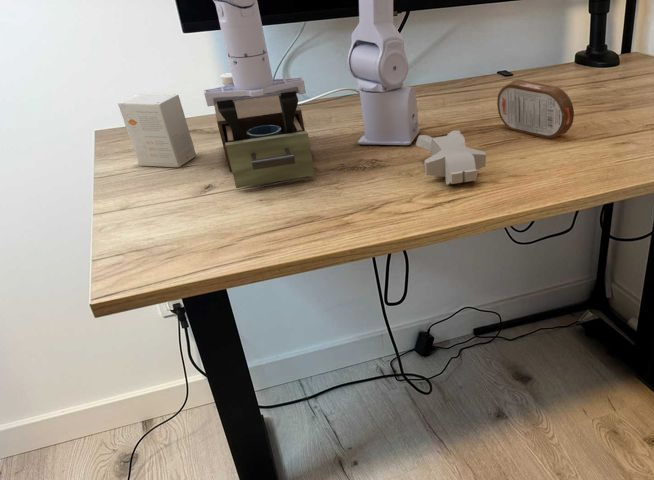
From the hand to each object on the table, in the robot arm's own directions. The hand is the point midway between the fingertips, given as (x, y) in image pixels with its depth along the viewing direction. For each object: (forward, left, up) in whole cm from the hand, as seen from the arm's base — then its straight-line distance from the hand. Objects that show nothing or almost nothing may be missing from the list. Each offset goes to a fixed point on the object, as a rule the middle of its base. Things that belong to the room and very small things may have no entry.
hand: (267, 146), depth 102 cm
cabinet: (+5, -9, -4) cm, 12 cm away
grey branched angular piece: (-29, -3, -5) cm, 29 cm away
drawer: (-1, +2, -4) cm, 4 cm away
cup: (0, 0, -3) cm, 3 cm away
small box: (+21, -4, -5) cm, 22 cm away
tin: (-40, -22, -5) cm, 46 cm away
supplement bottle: (+16, -23, -5) cm, 29 cm away
